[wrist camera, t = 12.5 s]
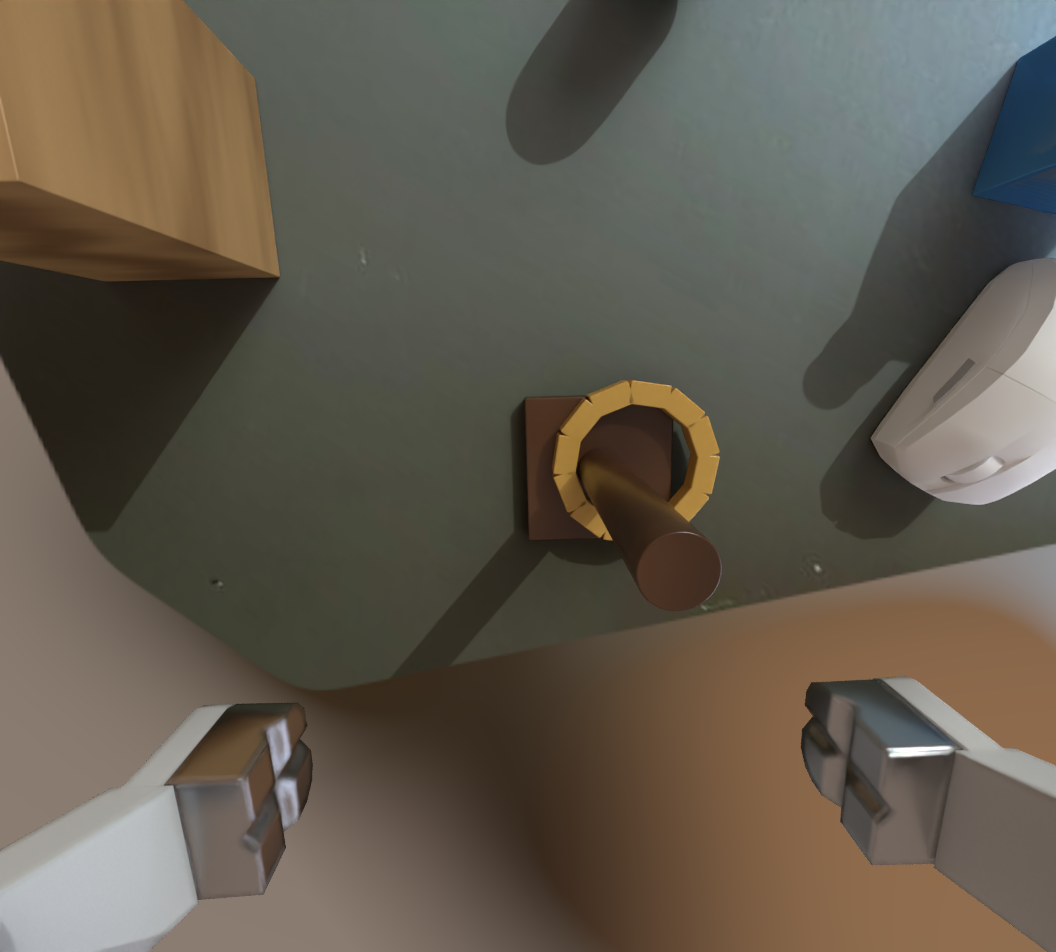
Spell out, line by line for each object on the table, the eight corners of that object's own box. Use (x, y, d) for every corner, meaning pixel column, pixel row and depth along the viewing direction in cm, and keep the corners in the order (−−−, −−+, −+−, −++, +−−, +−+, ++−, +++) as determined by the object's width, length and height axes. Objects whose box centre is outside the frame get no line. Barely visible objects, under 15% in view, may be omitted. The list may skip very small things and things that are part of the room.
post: (528, 534, 29) (538, 704, 15) (524, 396, 28) (531, 433, 13) (664, 530, 29) (808, 694, 15) (669, 392, 28) (837, 424, 13)
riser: (105, 281, 26) (-353, 189, 12) (65, 82, 24) (-532, -291, 10) (280, 277, 26) (18, 181, 12) (255, 78, 24) (-89, -295, 10)
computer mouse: (852, 449, 29) (942, 472, 23) (1013, 243, 26) (1162, 207, 20) (935, 507, 30) (1044, 545, 23) (1098, 313, 27) (1265, 298, 21)
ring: (586, 557, 29) (589, 565, 28) (529, 418, 27) (529, 420, 26) (729, 502, 28) (738, 508, 27) (681, 355, 26) (688, 355, 25)
